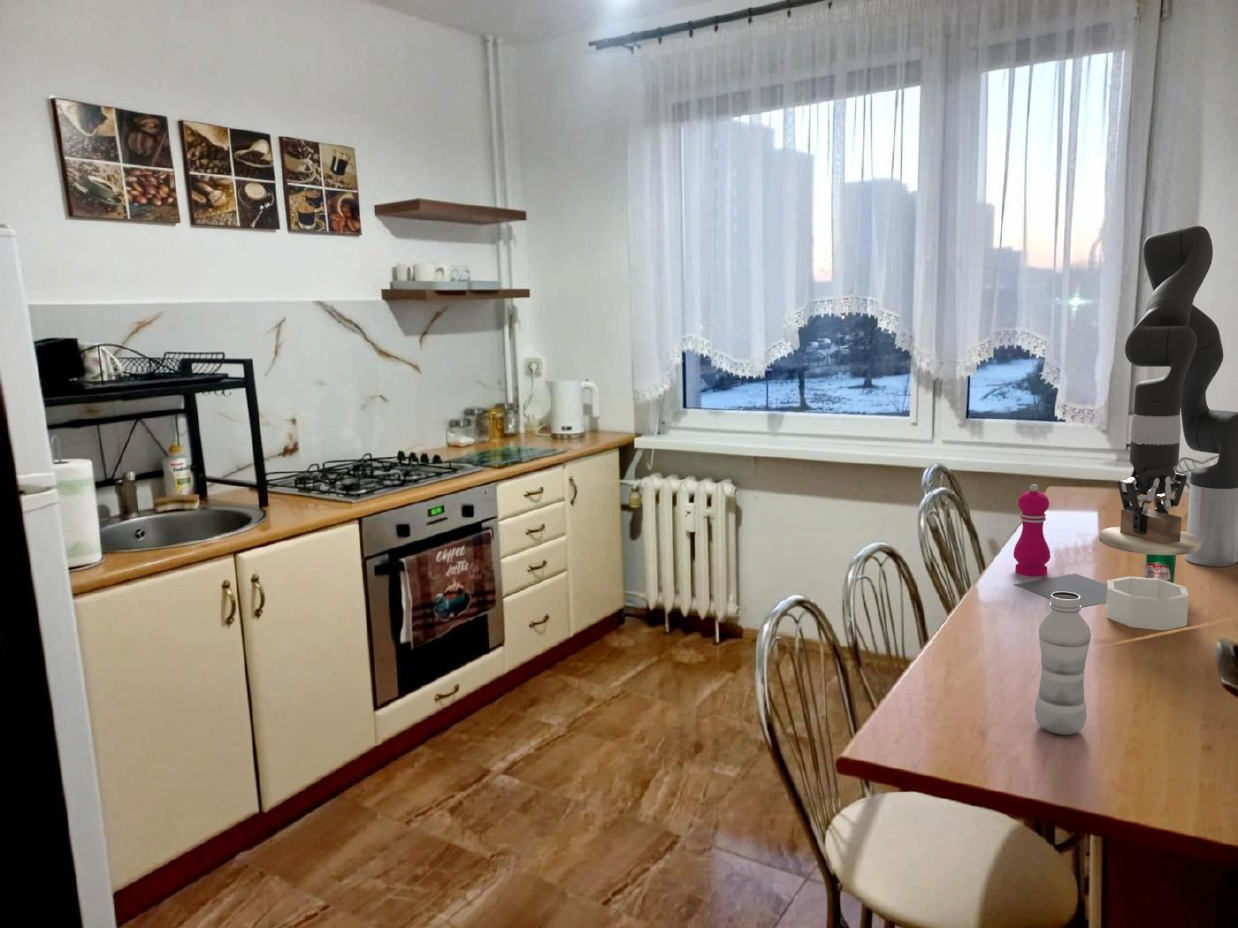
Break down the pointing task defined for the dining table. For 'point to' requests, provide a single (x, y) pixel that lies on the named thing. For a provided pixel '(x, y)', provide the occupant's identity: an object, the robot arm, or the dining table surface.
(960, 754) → the dining table surface
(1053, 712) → the plastic bottle
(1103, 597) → the mat
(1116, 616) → the bowl
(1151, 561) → the soda can
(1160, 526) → the lid
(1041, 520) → the pepper mill
